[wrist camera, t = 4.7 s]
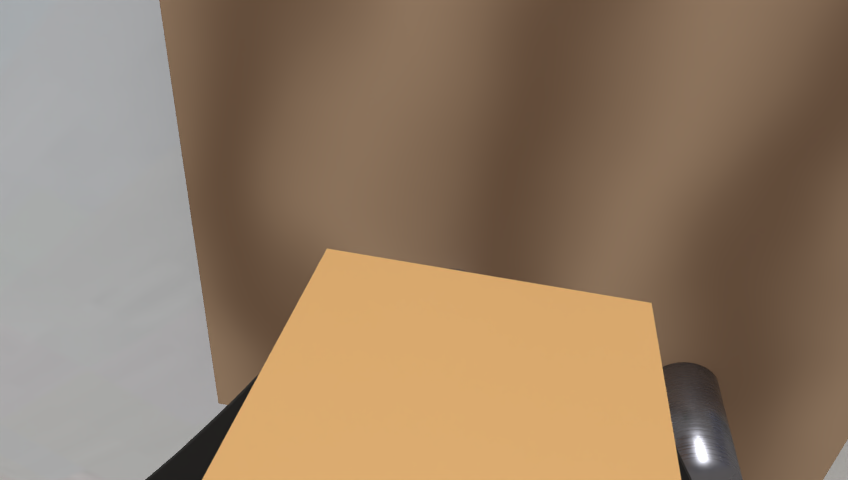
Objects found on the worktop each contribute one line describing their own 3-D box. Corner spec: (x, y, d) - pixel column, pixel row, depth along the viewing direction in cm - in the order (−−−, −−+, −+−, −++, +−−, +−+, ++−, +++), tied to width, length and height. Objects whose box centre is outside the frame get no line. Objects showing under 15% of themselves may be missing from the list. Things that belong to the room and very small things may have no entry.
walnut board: (1434, -668, 10) (1563, -738, 8) (790, 475, 23) (802, 512, 22) (107, -668, 12) (53, -723, 11) (235, 373, 26) (218, 403, 24)
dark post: (718, 334, 21) (755, 467, 17) (699, 381, 22) (729, 517, 18) (651, 324, 21) (671, 452, 17) (636, 370, 22) (651, 502, 18)
